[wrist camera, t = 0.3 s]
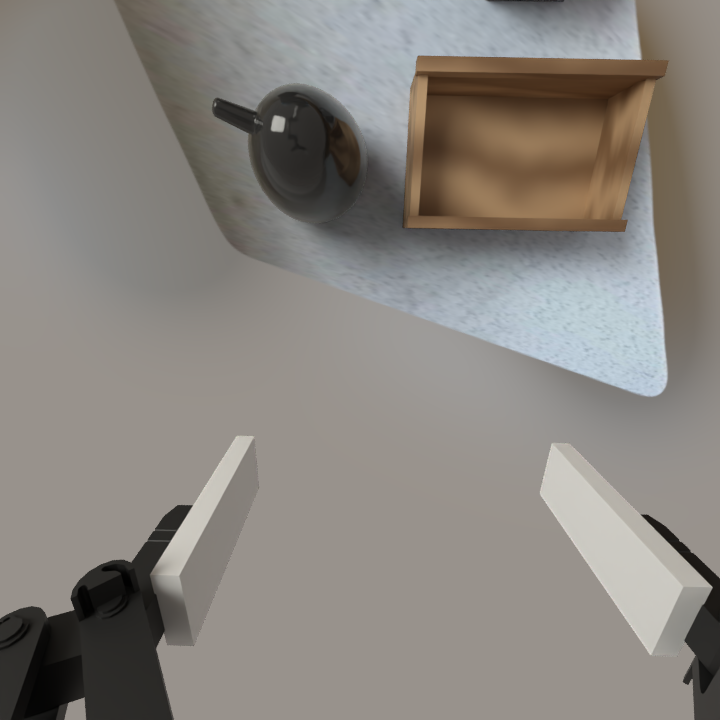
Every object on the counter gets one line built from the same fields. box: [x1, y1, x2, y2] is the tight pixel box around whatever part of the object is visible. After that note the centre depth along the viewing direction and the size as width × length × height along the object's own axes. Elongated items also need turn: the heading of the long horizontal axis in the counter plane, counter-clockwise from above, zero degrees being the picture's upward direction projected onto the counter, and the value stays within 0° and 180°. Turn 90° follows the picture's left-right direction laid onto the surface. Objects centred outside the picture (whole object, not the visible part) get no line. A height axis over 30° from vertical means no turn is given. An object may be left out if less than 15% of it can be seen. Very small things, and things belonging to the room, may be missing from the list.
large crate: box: [403, 56, 668, 232], centre depth 33 cm, size 13×20×6 cm, turn 89°
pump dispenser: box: [212, 83, 368, 223], centre depth 29 cm, size 10×10×15 cm
